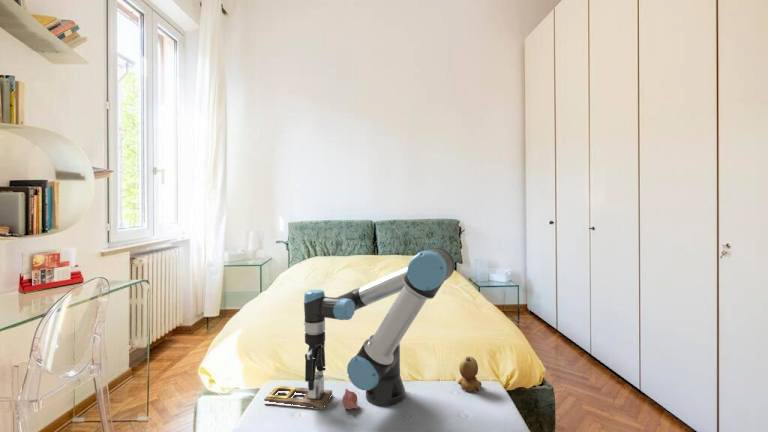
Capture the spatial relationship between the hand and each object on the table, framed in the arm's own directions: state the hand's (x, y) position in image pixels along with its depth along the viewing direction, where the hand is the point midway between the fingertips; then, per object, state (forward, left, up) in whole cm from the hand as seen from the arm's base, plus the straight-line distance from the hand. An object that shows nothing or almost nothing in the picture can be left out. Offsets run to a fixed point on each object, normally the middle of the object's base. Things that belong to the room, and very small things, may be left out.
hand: (316, 392), depth 132 cm
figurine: (-57, -18, -3) cm, 60 cm away
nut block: (0, 0, -3) cm, 3 cm away
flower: (-14, +2, -3) cm, 15 cm away
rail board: (+7, 0, -3) cm, 8 cm away
